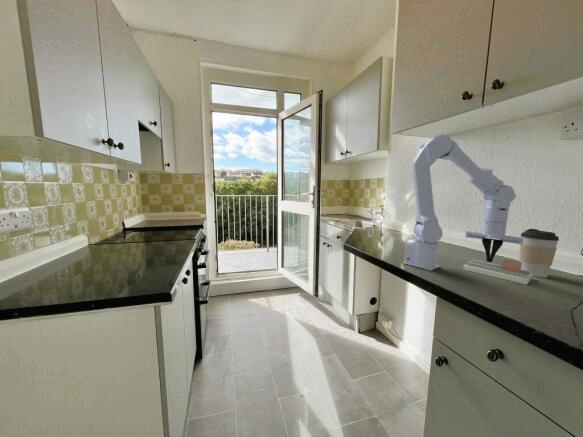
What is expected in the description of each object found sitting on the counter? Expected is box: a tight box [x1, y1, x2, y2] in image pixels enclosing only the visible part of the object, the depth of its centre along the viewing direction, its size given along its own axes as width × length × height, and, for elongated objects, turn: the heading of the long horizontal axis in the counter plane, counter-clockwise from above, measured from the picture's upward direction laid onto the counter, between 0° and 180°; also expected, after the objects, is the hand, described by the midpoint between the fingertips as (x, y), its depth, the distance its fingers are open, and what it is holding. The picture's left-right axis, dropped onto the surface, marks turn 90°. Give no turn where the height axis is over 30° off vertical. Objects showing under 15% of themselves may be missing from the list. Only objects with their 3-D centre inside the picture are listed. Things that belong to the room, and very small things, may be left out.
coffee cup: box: [518, 228, 560, 279], centre depth 80 cm, size 9×9×15 cm
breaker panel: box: [462, 259, 533, 286], centre depth 79 cm, size 16×9×2 cm, turn 39°
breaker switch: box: [502, 259, 522, 273], centre depth 76 cm, size 4×4×4 cm
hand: (489, 261), depth 81 cm, fingers closed
